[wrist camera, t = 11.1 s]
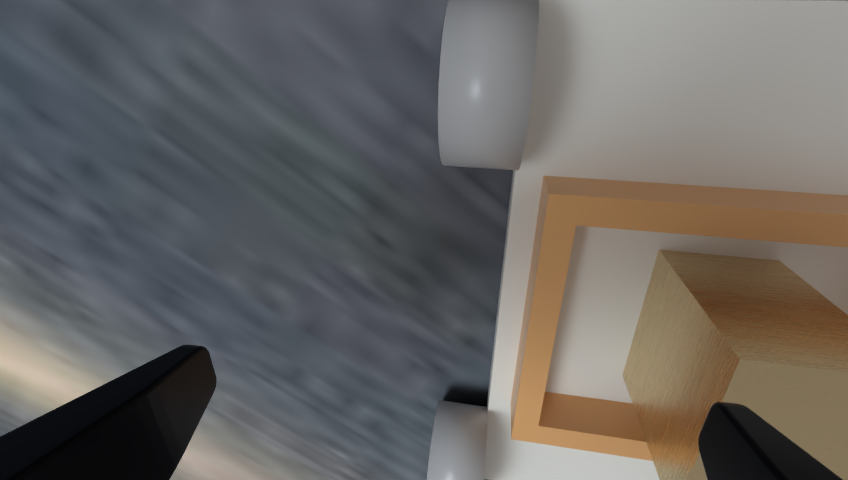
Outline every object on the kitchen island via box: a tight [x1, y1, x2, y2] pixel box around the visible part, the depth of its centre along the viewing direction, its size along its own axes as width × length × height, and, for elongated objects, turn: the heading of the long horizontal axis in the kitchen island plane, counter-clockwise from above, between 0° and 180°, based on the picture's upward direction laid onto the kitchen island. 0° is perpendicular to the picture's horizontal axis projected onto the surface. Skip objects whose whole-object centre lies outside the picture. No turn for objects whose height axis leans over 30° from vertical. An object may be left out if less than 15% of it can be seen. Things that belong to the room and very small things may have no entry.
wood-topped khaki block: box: [623, 250, 848, 480], centre depth 14 cm, size 4×6×6 cm, turn 179°
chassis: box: [427, 0, 848, 480], centre depth 16 cm, size 22×20×5 cm
